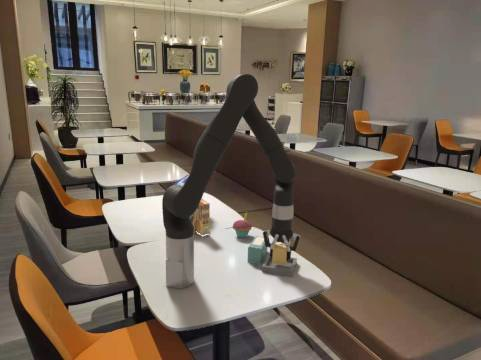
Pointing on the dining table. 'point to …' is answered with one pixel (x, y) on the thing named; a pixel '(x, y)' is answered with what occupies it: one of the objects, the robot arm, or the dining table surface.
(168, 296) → the dining table surface
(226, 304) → the dining table surface
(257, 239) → the teal box with tabs
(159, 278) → the dining table surface
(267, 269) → the tray
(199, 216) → the candy box
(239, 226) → the cupcake
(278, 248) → the tan box block
